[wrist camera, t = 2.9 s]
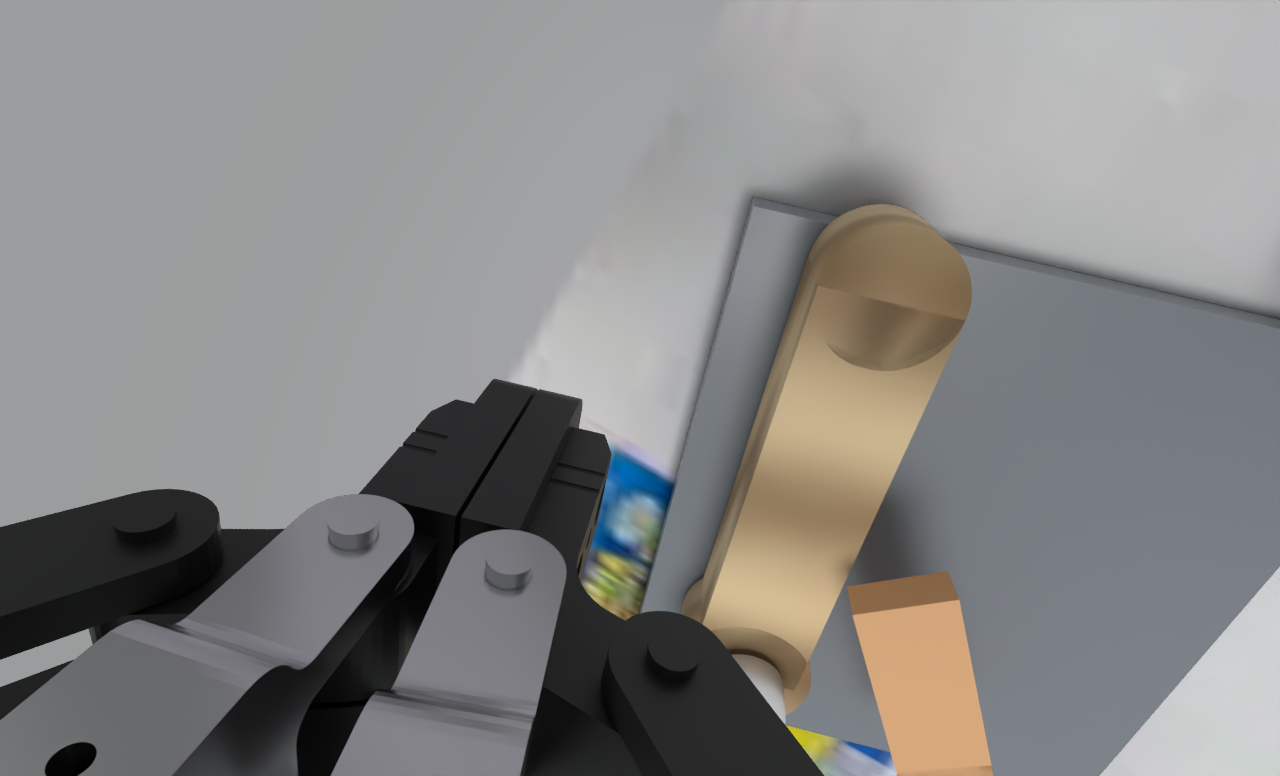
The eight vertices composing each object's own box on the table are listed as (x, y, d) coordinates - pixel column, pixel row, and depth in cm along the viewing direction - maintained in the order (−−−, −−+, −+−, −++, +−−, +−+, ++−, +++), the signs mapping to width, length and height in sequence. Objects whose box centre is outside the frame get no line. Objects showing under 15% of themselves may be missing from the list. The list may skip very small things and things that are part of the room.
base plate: (752, 196, 22) (755, 249, 16) (1405, 348, 21) (1652, 460, 15) (626, 656, 32) (601, 789, 26) (1063, 768, 31) (1135, 930, 26)
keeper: (957, 687, 28) (1002, 821, 23) (883, 696, 29) (911, 827, 24) (915, 488, 24) (959, 599, 19) (831, 504, 25) (852, 615, 20)
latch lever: (784, 672, 29) (787, 736, 26) (669, 643, 29) (661, 703, 26) (981, 225, 20) (1018, 252, 17) (813, 186, 20) (823, 207, 17)
